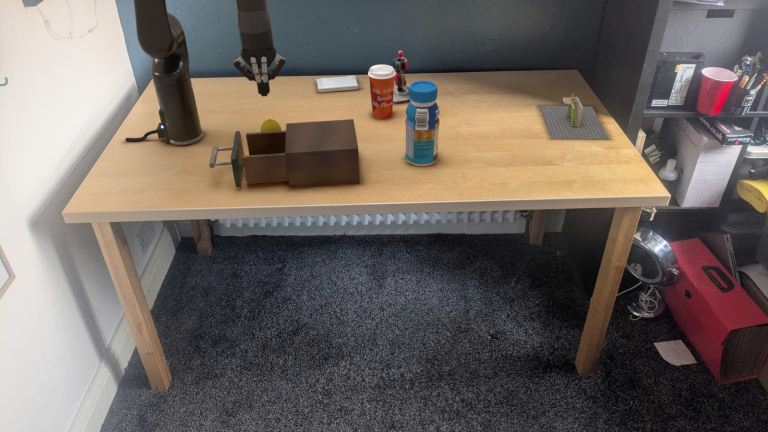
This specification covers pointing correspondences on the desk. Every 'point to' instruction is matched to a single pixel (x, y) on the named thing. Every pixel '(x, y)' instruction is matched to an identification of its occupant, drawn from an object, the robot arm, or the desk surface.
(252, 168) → the drawer
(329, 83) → the hard drive
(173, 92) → the robot arm
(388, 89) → the paper cup
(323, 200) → the desk surface
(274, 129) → the lemon
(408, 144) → the beverage bottle
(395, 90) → the statue
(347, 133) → the cabinet
